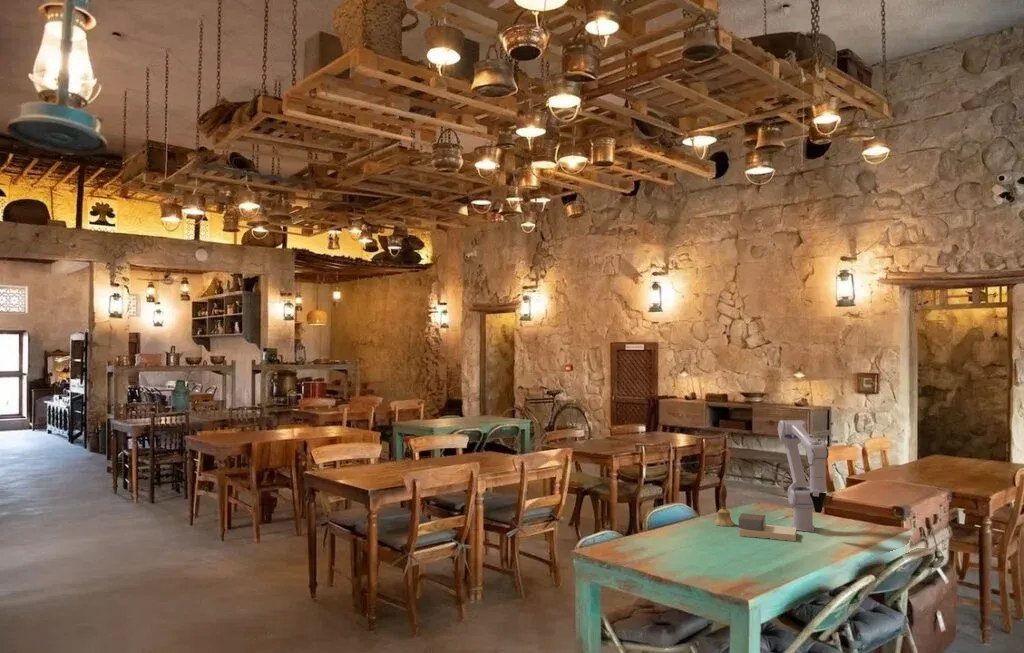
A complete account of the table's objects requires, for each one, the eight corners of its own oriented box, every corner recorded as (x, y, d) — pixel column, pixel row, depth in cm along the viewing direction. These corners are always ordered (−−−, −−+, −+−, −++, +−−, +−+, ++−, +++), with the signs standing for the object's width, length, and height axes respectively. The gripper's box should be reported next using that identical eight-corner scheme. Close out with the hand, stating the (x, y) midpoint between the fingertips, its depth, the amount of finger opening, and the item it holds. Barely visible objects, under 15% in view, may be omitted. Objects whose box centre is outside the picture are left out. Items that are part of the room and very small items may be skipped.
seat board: (742, 528, 290) (742, 522, 290) (796, 533, 282) (796, 527, 282) (739, 535, 279) (739, 529, 279) (795, 541, 271) (794, 534, 271)
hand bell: (709, 523, 300) (709, 484, 300) (725, 521, 304) (724, 482, 304) (723, 527, 293) (722, 487, 293) (739, 525, 296) (738, 486, 296)
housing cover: (741, 522, 289) (741, 513, 289) (765, 525, 286) (765, 515, 286) (738, 528, 281) (738, 518, 281) (763, 530, 277) (763, 520, 277)
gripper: (809, 472, 284) (809, 507, 284) (803, 478, 271) (804, 514, 271) (828, 474, 281) (829, 509, 280) (824, 480, 268) (824, 517, 268)
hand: (818, 512), depth 275 cm, fingers closed
